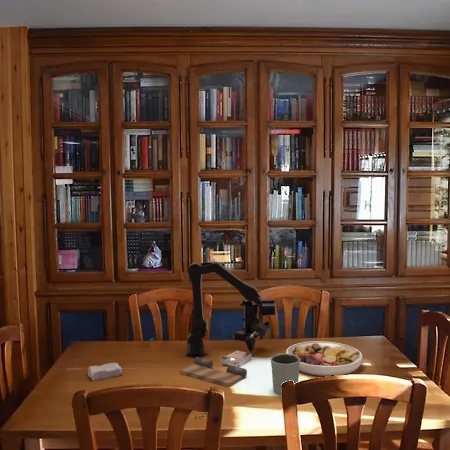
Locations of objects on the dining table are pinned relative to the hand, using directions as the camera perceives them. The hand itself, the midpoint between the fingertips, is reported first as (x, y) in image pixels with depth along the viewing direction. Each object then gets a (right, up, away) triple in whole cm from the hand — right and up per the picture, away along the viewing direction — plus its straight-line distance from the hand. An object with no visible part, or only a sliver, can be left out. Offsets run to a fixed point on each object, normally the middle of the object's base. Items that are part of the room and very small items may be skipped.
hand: (251, 351), depth 216 cm
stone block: (-58, -4, -19) cm, 61 cm away
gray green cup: (+10, -5, -37) cm, 39 cm away
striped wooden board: (-16, -4, -23) cm, 28 cm away
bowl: (+29, -3, -11) cm, 31 cm away
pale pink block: (-6, -3, -9) cm, 11 cm away
